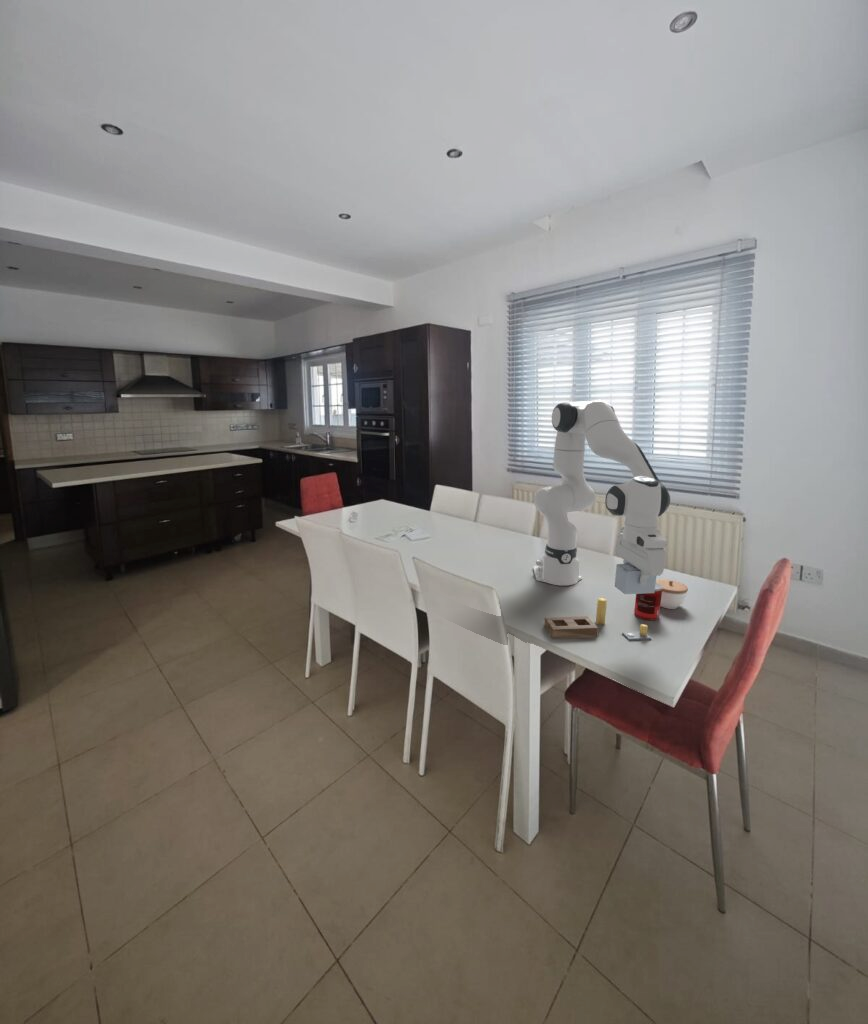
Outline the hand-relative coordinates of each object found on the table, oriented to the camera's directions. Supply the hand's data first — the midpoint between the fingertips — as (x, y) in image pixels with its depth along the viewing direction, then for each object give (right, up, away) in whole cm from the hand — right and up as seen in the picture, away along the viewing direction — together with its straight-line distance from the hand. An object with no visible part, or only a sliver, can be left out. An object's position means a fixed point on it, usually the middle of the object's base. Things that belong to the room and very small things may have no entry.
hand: (635, 579), depth 134 cm
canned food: (+13, -15, +21) cm, 29 cm away
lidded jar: (+24, -14, +29) cm, 40 cm away
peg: (-5, -16, +15) cm, 23 cm away
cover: (0, -3, +1) cm, 3 cm away
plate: (+3, -18, +6) cm, 20 cm away
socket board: (-16, -18, +9) cm, 26 cm away
